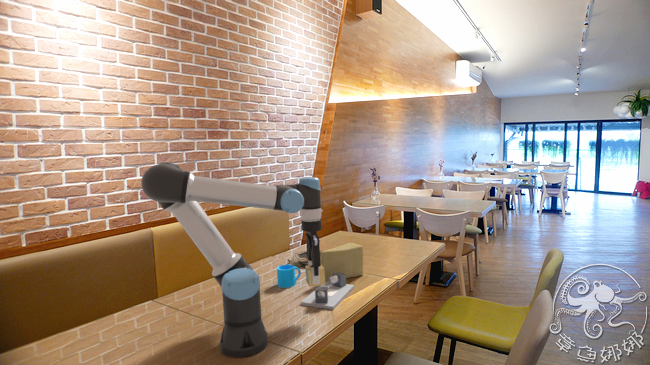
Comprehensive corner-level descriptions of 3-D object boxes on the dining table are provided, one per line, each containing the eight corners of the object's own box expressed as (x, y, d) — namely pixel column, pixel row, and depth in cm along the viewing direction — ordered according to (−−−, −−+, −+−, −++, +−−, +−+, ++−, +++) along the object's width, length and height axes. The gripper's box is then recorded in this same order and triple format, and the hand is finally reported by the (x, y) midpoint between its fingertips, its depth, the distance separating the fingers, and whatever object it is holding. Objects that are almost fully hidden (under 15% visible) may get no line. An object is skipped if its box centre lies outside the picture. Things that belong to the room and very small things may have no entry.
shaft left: (327, 303, 148) (327, 290, 147) (315, 303, 148) (315, 290, 148) (328, 296, 155) (328, 284, 154) (317, 296, 155) (316, 284, 155)
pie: (317, 252, 226) (317, 244, 225) (347, 263, 204) (347, 254, 204) (277, 262, 209) (276, 253, 208) (305, 275, 187) (305, 265, 187)
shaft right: (338, 282, 170) (337, 271, 169) (346, 285, 166) (345, 273, 166) (327, 287, 165) (327, 275, 164) (335, 289, 161) (335, 278, 161)
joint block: (325, 284, 138) (324, 268, 138) (309, 286, 137) (308, 270, 136) (321, 278, 144) (320, 263, 143) (306, 281, 143) (305, 265, 142)
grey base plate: (333, 309, 144) (333, 306, 144) (301, 304, 150) (301, 301, 150) (354, 287, 166) (354, 284, 166) (325, 284, 172) (325, 281, 172)
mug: (283, 289, 168) (282, 271, 167) (274, 284, 174) (273, 267, 173) (305, 282, 175) (305, 265, 174) (295, 278, 181) (295, 261, 181)
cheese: (328, 286, 169) (326, 254, 167) (315, 281, 176) (314, 249, 175) (364, 275, 182) (363, 245, 180) (351, 270, 190) (350, 241, 188)
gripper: (327, 223, 130) (330, 288, 132) (316, 214, 148) (318, 271, 150) (306, 225, 128) (309, 291, 130) (297, 215, 146) (300, 273, 149)
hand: (314, 280), depth 140 cm, fingers closed on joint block, 6 cm apart
